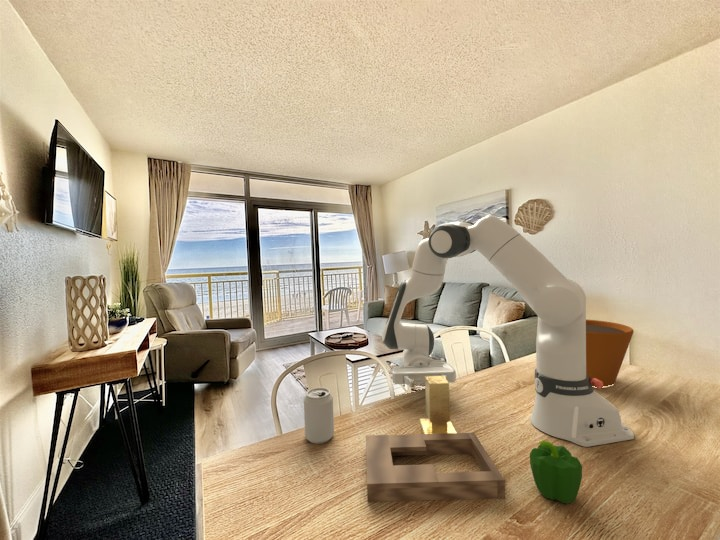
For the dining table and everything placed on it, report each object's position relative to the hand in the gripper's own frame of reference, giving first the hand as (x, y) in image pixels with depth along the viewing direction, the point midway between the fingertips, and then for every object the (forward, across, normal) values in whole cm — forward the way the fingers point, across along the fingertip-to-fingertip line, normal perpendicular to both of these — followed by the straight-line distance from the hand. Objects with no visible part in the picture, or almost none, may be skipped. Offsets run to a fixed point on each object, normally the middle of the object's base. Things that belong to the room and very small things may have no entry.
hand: (428, 384), depth 92 cm
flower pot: (-19, +62, +8) cm, 65 cm away
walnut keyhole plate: (+26, -6, +8) cm, 28 cm away
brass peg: (+11, 0, +8) cm, 14 cm away
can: (+12, -31, +8) cm, 34 cm away
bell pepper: (+33, +17, +8) cm, 38 cm away
